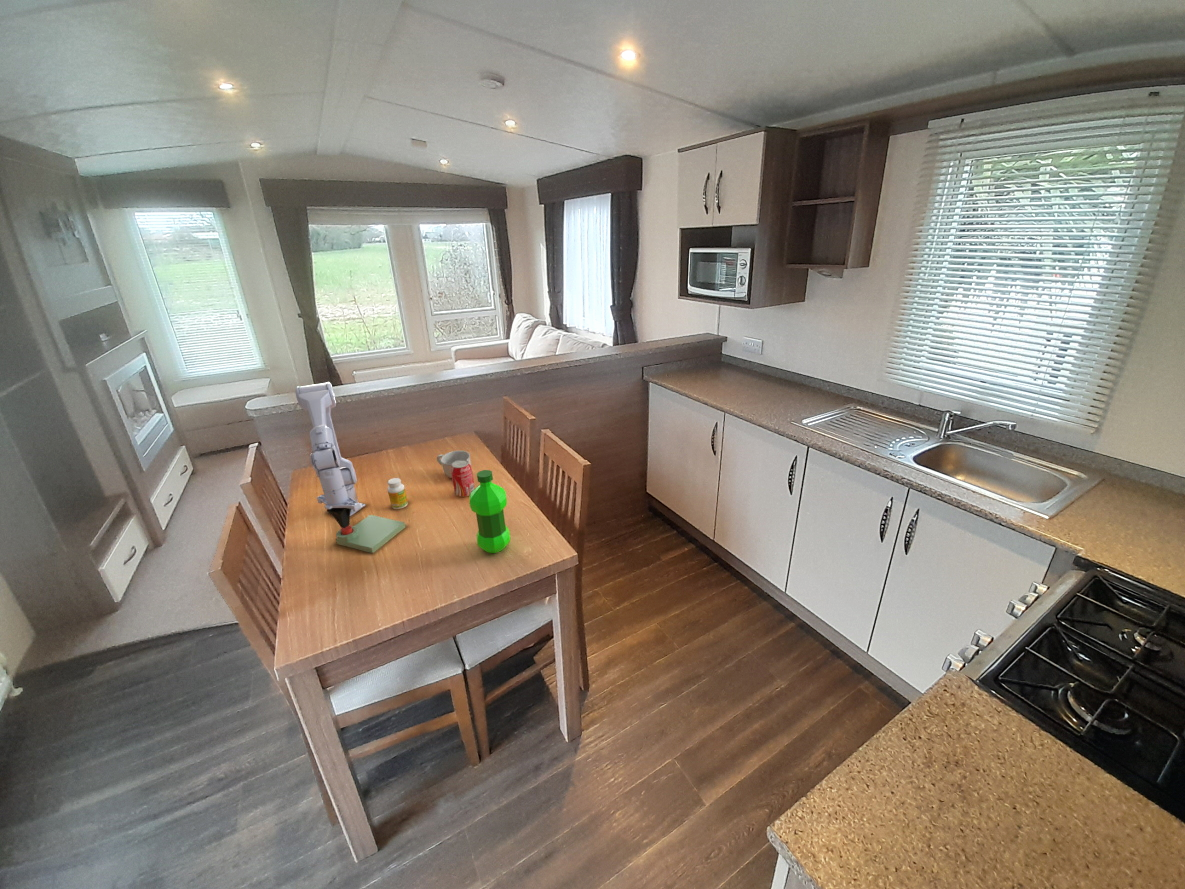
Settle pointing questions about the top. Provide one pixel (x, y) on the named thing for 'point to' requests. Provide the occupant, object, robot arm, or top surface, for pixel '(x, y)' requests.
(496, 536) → the plastic bottle
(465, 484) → the soda can
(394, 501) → the supplement bottle
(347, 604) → the top surface
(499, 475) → the top surface
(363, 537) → the scale
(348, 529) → the button
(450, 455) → the teacup
